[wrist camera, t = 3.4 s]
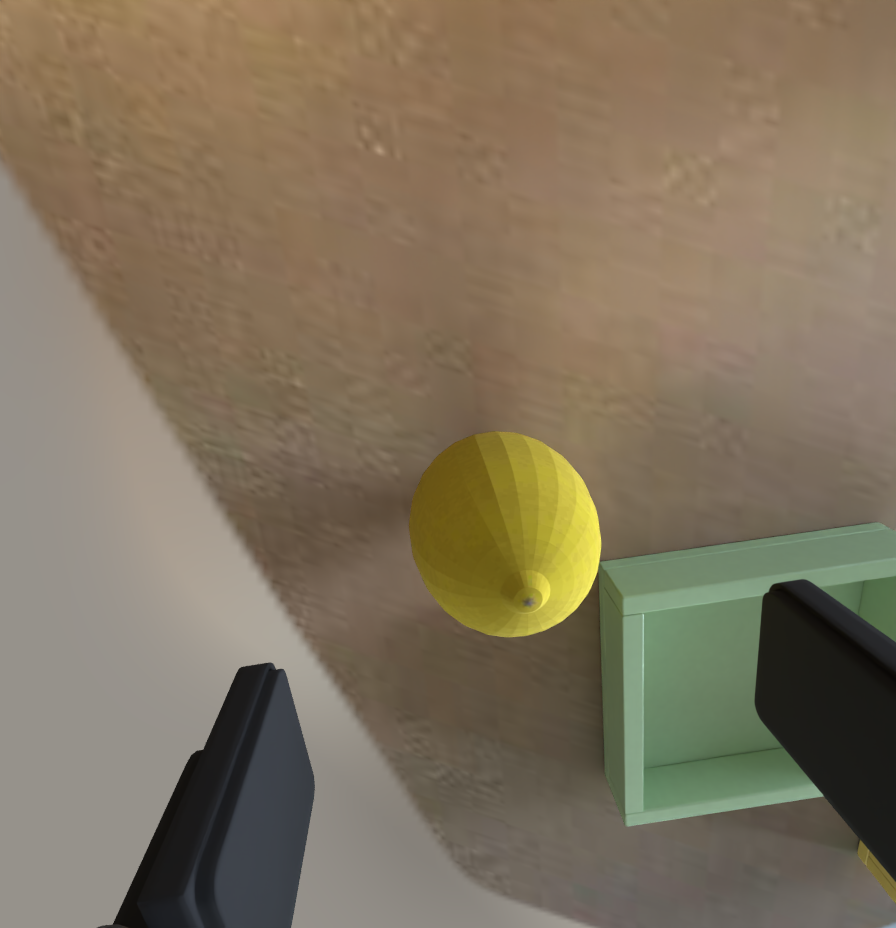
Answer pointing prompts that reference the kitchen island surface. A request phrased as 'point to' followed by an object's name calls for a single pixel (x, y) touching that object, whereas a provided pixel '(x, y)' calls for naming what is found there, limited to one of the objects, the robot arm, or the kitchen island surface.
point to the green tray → (715, 665)
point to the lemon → (505, 534)
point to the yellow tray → (877, 870)
